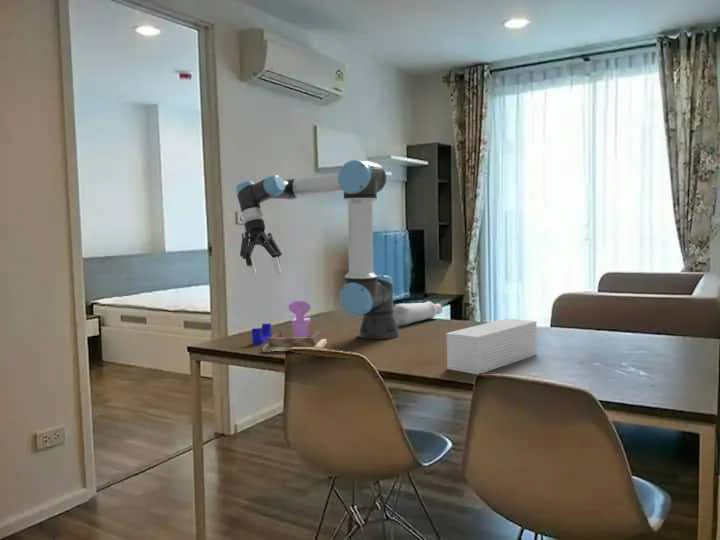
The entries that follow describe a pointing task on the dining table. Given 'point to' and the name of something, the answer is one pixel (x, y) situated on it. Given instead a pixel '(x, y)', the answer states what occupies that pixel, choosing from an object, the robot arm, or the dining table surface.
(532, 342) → the stack of papers
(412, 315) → the bottle
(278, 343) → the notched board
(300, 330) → the purple upright piece
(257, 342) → the cable clip
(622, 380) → the dining table surface
